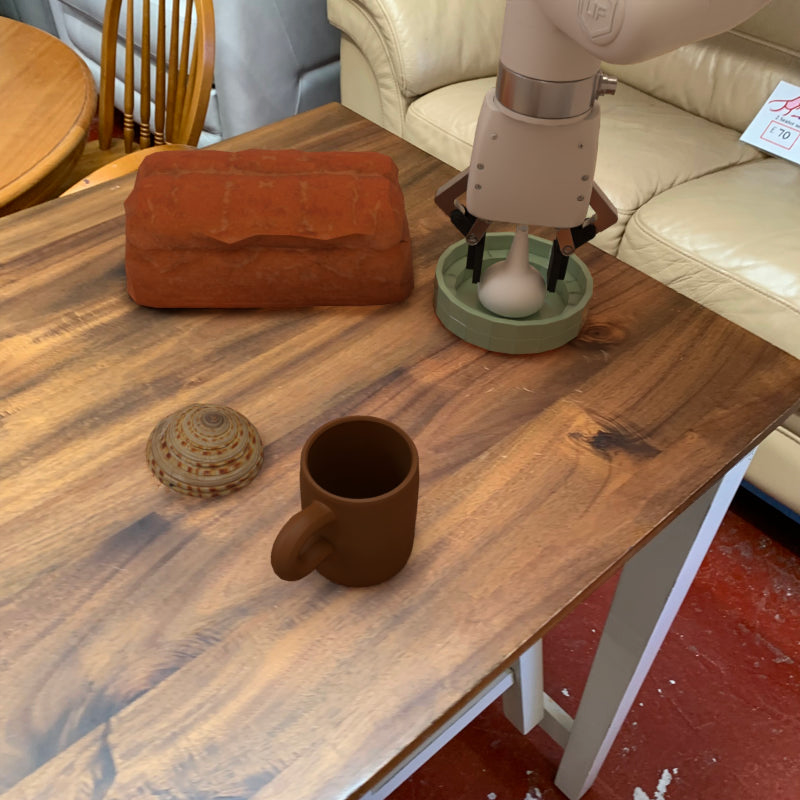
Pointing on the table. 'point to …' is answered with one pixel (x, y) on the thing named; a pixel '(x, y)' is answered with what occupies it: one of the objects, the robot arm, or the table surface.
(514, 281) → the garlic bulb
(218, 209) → the bread
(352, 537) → the mug
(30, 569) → the table surface
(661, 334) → the table surface
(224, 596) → the table surface
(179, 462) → the seashell
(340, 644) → the table surface
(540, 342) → the bowl
